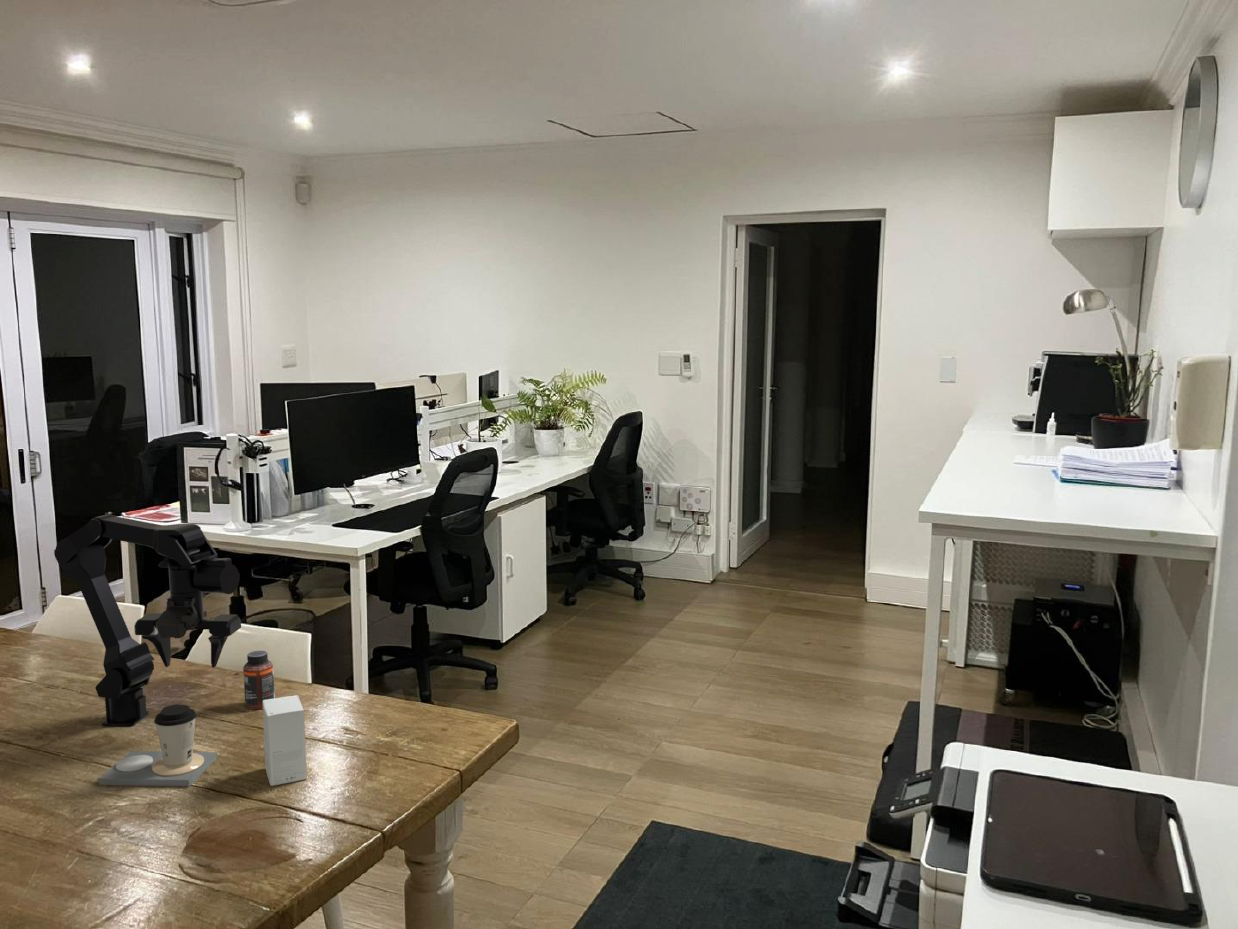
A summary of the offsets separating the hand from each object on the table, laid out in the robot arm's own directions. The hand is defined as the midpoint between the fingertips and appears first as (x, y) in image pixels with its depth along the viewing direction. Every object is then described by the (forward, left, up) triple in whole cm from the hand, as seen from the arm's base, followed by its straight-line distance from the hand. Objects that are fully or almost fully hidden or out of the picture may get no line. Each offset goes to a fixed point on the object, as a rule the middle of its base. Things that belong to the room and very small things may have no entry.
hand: (190, 666), depth 190 cm
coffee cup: (+5, -18, -12) cm, 22 cm away
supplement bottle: (+8, +13, -13) cm, 20 cm away
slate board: (+2, -18, -13) cm, 22 cm away
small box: (+25, -18, -13) cm, 34 cm away
